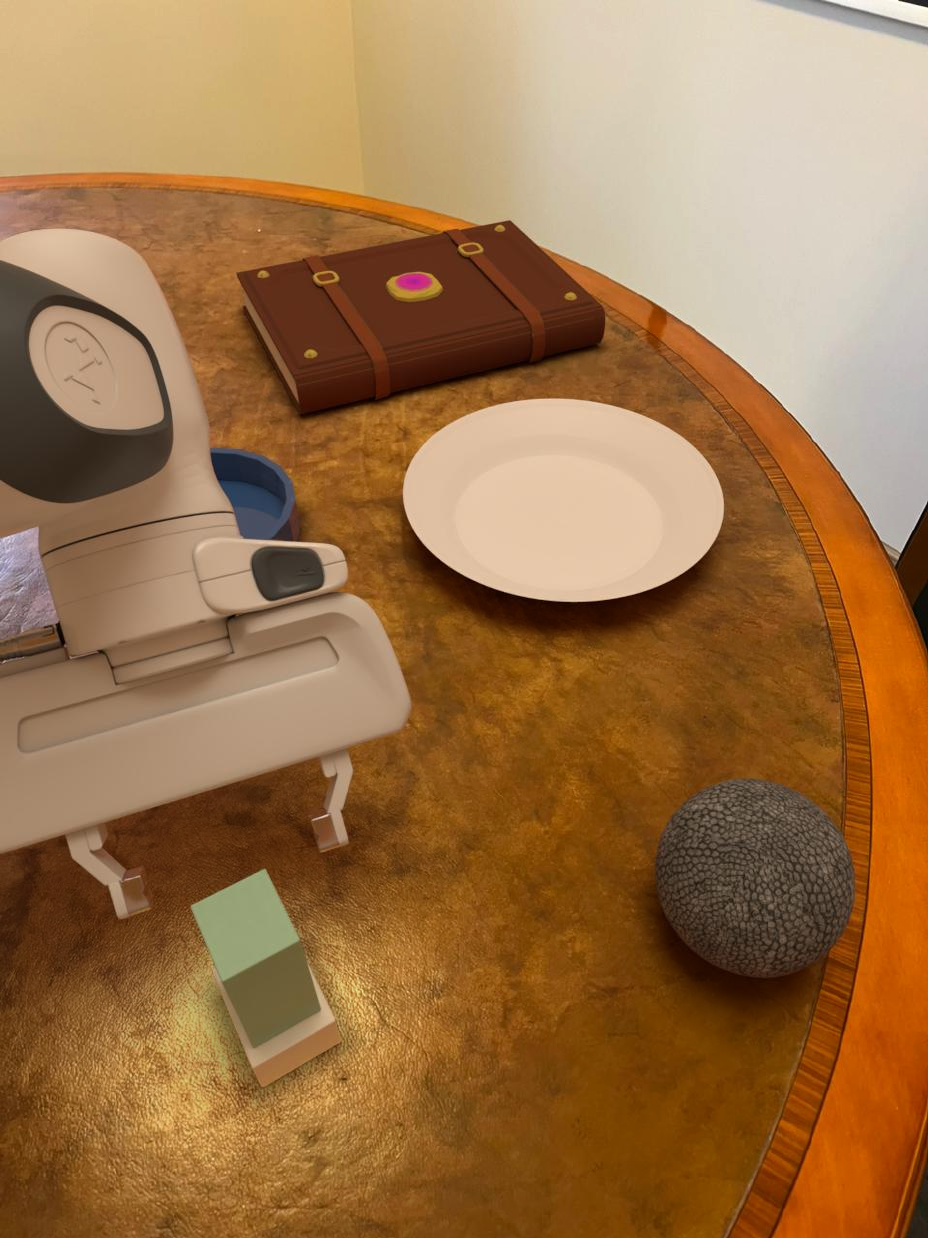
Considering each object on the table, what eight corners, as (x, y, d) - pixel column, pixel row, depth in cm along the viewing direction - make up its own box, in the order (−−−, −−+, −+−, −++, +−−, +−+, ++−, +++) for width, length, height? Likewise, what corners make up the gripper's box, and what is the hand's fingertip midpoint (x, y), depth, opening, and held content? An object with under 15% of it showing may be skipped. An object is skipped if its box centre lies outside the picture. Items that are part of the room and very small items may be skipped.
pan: (150, 627, 68) (138, 593, 65) (96, 517, 76) (83, 483, 74) (329, 558, 73) (324, 524, 70) (260, 462, 81) (253, 428, 79)
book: (242, 309, 100) (234, 264, 96) (508, 255, 108) (509, 212, 105) (303, 422, 86) (295, 374, 82) (603, 349, 94) (609, 303, 90)
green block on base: (262, 1089, 46) (219, 1004, 38) (222, 992, 50) (174, 895, 42) (342, 1042, 48) (316, 950, 40) (298, 951, 51) (266, 850, 43)
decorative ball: (700, 809, 57) (733, 710, 50) (854, 908, 53) (916, 814, 45) (608, 928, 52) (631, 836, 45) (771, 1049, 47) (826, 968, 40)
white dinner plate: (524, 688, 64) (527, 654, 61) (350, 495, 78) (345, 461, 76) (781, 551, 73) (793, 516, 71) (583, 402, 88) (587, 368, 85)
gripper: (-106, 660, 38) (-10, 980, 39) (374, 539, 43) (451, 825, 44) (-60, 655, 44) (23, 931, 45) (356, 550, 49) (423, 800, 50)
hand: (237, 878), depth 44 cm, fingers open, 8 cm apart
